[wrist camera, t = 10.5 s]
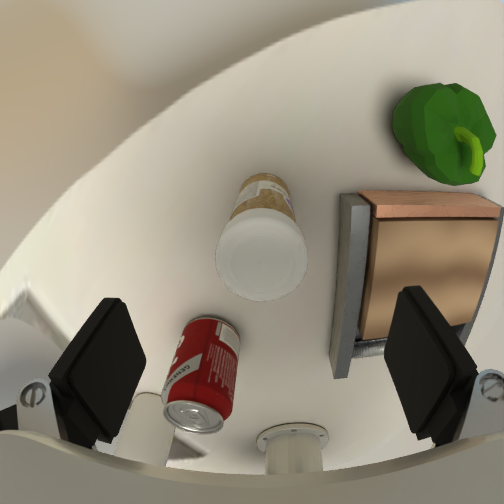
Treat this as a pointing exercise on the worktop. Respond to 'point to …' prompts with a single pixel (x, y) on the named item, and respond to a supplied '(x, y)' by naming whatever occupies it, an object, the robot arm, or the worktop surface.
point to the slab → (425, 266)
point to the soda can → (202, 377)
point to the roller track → (355, 252)
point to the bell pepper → (444, 132)
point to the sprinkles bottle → (262, 242)
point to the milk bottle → (146, 432)
